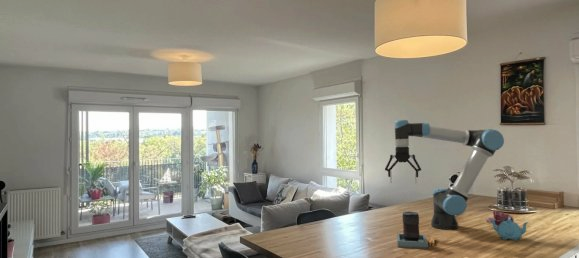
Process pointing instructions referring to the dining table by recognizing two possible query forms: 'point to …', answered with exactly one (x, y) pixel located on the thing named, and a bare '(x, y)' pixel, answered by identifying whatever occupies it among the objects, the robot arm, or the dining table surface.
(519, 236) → the teapot
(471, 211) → the dining table surface
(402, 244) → the tray
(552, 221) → the dining table surface
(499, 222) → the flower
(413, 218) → the camera lens
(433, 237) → the fuse puller tool
